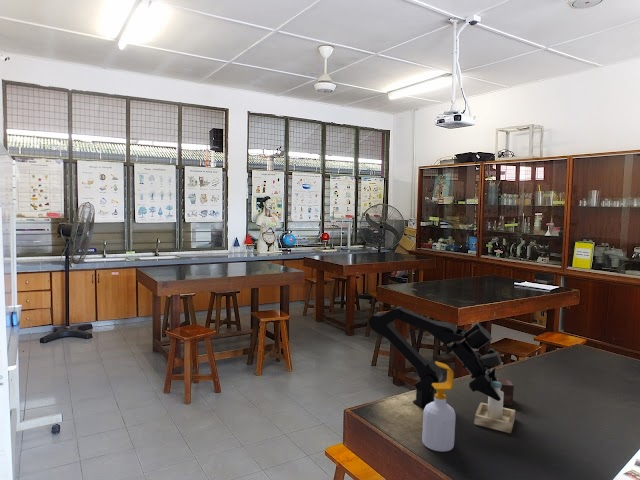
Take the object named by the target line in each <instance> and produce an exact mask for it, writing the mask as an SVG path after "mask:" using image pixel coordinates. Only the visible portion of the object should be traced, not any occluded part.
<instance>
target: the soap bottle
mask: <svg viewBox="0 0 640 480" xmlns="http://www.w3.org/2000/svg"><path fill="white" fill-rule="evenodd" d="M434 361H435V363H436V364H437V365H438V366H439V367H441V368H440V369H445V370H446V381H445V382H439V383H432V386H433V387H434V389H436V391H437V393H436V394H435V396H434V402H431V403H429V404H427V405H426V406H425V408H424V409H423V414H422V415H423V416H422V417H423V418H422V435H421V441H422V445H424V446H425V447H426V448H428V449H430V450H432V451H435V452H449V451H452V450H453V449H454V446H455V437H456V436H455V435H456V434H455V433H456V432H455V430H456V417H457V416H456V412H455V411H456V410H455V409H454V408H453V407H452V406H451V405H450V404H448V402H447V395H446V394H444V393H445V392H446V391H450V390H452V389H453V387H454V374H455V372H454V370H452V368H450V366H449V365H447V363H443V362H440V361H437V360H434Z"/></svg>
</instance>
